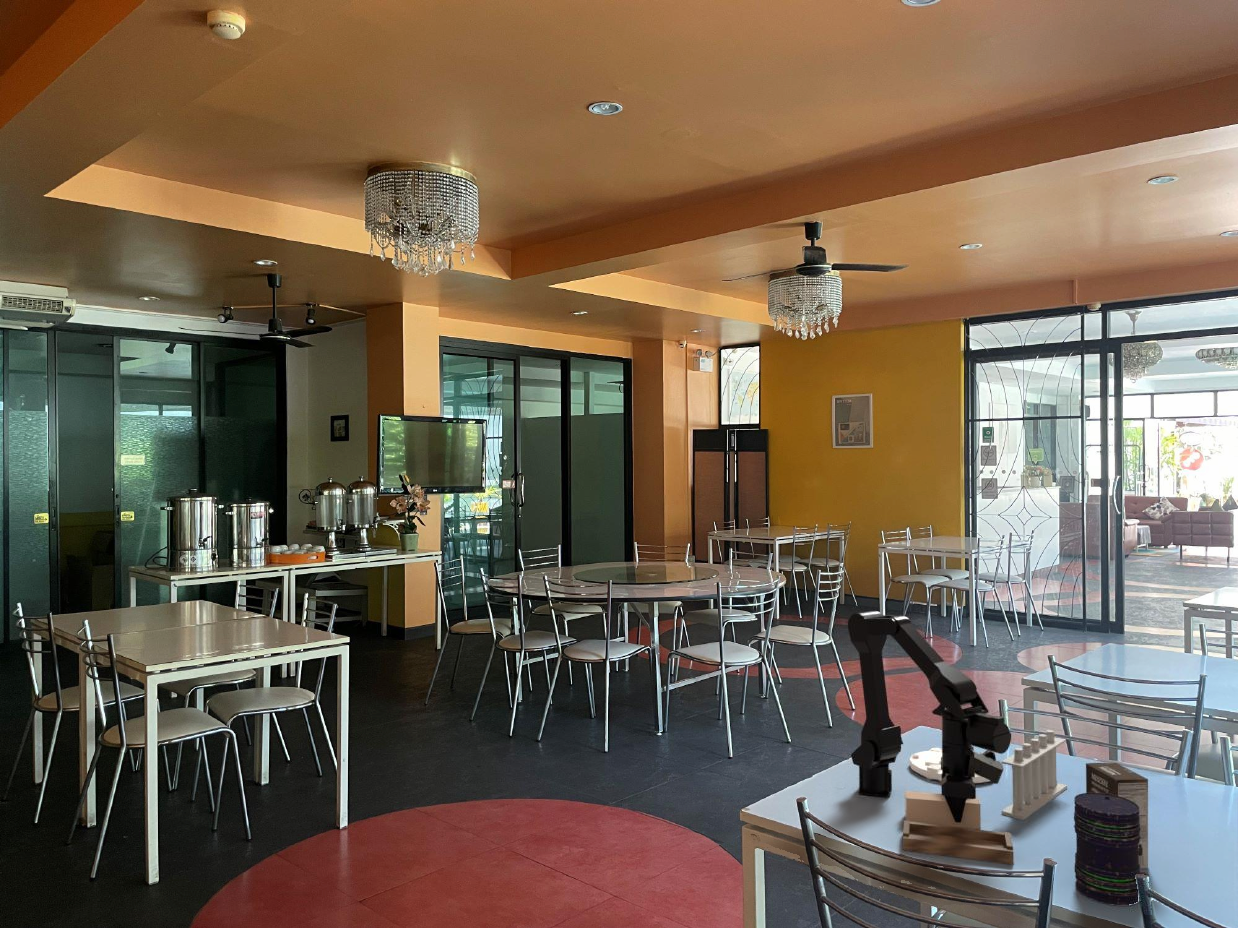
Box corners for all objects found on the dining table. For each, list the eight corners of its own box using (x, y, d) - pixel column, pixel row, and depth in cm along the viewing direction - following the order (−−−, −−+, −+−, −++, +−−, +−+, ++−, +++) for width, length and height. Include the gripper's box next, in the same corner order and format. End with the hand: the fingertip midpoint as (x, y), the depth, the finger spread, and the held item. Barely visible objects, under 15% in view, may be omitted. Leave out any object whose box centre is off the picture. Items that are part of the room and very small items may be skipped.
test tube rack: (1023, 820, 180) (1022, 755, 180) (1001, 814, 183) (1000, 750, 183) (1067, 788, 198) (1066, 729, 198) (1046, 783, 201) (1045, 725, 201)
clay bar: (906, 822, 179) (906, 798, 179) (905, 815, 183) (905, 791, 183) (980, 828, 176) (980, 803, 176) (977, 821, 180) (977, 796, 180)
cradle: (903, 849, 166) (903, 834, 166) (904, 832, 174) (904, 818, 174) (1013, 864, 160) (1013, 848, 160) (1009, 845, 168) (1009, 830, 168)
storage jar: (1140, 911, 142) (1139, 818, 143) (1072, 896, 148) (1070, 806, 148) (1142, 886, 151) (1141, 799, 151) (1077, 873, 156) (1076, 788, 156)
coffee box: (1084, 848, 166) (1083, 762, 166) (1117, 846, 167) (1116, 761, 167) (1116, 870, 157) (1115, 779, 157) (1150, 868, 158) (1149, 777, 158)
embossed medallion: (935, 753, 224) (935, 742, 224) (1014, 772, 209) (1014, 759, 209) (894, 771, 210) (894, 759, 210) (974, 793, 196) (974, 779, 196)
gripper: (1003, 758, 167) (1004, 841, 167) (997, 731, 185) (997, 806, 185) (941, 752, 171) (941, 833, 171) (940, 726, 189) (941, 799, 188)
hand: (957, 817), depth 179 cm, fingers closed on clay bar, 4 cm apart
